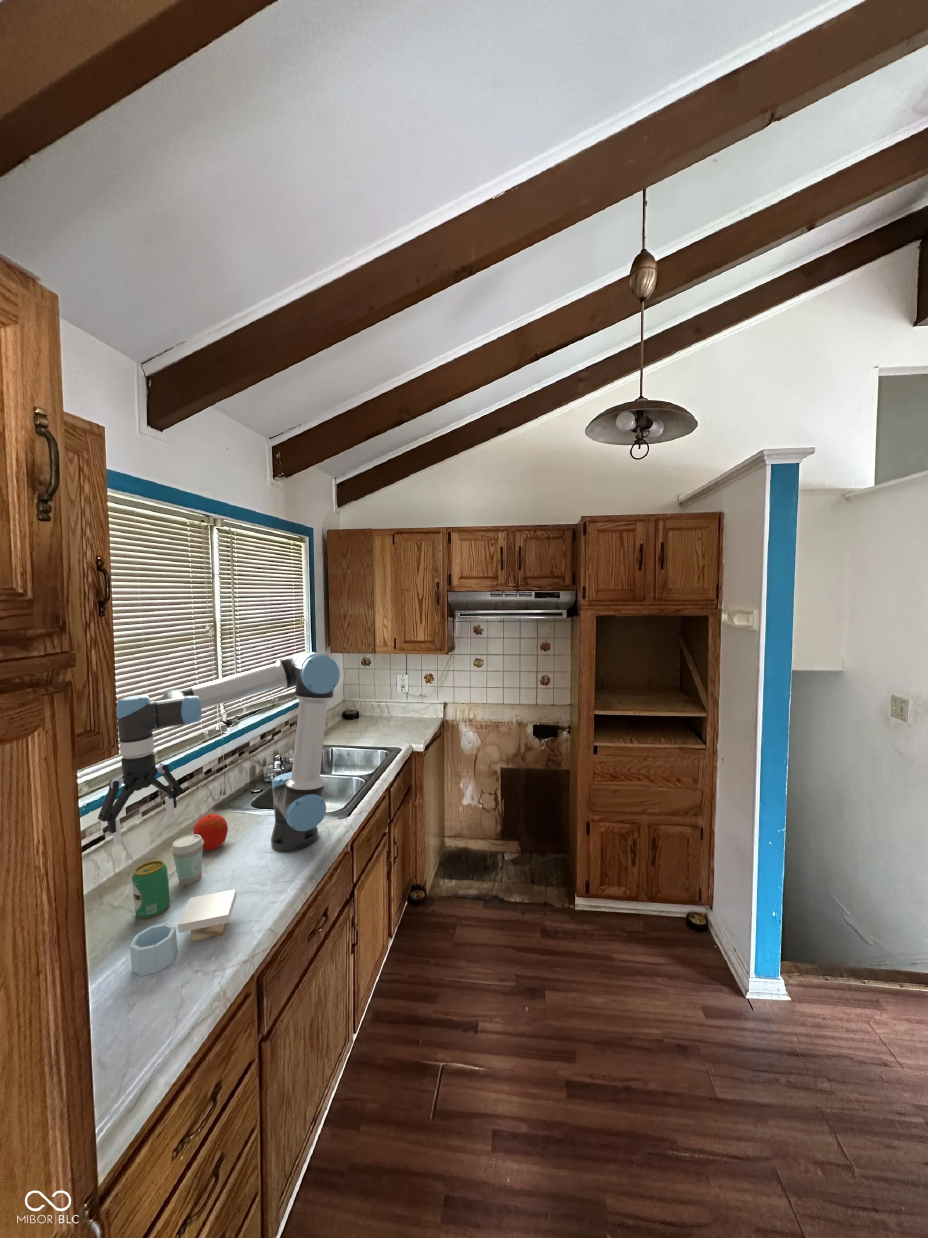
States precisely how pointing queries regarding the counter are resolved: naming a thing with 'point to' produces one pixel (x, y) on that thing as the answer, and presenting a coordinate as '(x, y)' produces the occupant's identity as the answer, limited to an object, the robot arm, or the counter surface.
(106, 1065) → the counter surface
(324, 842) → the counter surface
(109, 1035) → the counter surface
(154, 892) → the beverage can
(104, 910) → the counter surface
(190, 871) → the coffee cup
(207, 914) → the ceramic tile
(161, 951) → the bowl
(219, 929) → the cork block
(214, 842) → the apple
